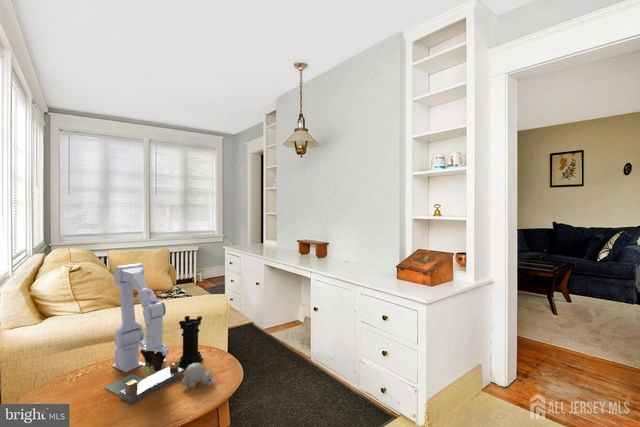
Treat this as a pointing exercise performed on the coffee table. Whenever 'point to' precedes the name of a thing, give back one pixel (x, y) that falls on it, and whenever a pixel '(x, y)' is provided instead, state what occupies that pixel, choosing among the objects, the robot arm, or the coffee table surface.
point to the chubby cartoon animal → (197, 376)
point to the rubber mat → (122, 384)
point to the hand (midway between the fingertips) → (154, 368)
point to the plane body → (150, 383)
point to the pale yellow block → (151, 367)
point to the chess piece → (190, 342)
